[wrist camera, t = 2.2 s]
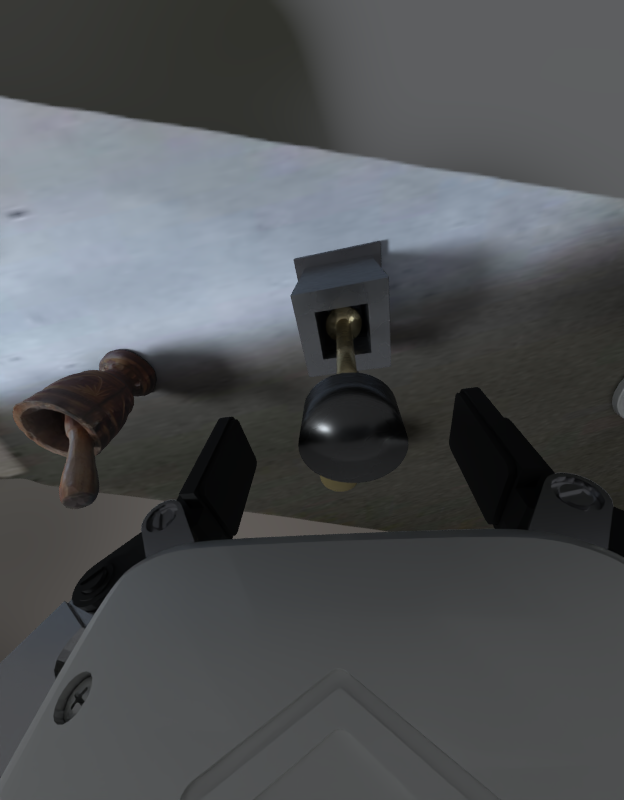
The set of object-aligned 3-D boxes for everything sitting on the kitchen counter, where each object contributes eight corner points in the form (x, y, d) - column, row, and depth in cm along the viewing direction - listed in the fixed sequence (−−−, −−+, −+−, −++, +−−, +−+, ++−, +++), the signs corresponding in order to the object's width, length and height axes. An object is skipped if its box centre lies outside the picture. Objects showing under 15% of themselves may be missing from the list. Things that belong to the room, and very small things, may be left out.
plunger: (367, 291, 21) (409, 398, 9) (371, 343, 24) (407, 479, 12) (313, 301, 22) (286, 412, 10) (322, 350, 24) (309, 485, 12)
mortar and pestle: (171, 346, 36) (38, 457, 20) (189, 398, 41) (95, 520, 25) (91, 345, 37) (-99, 451, 21) (118, 396, 42) (-18, 513, 26)
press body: (379, 240, 27) (403, 258, 18) (383, 341, 34) (403, 395, 24) (294, 258, 29) (273, 283, 19) (313, 351, 35) (305, 406, 25)
